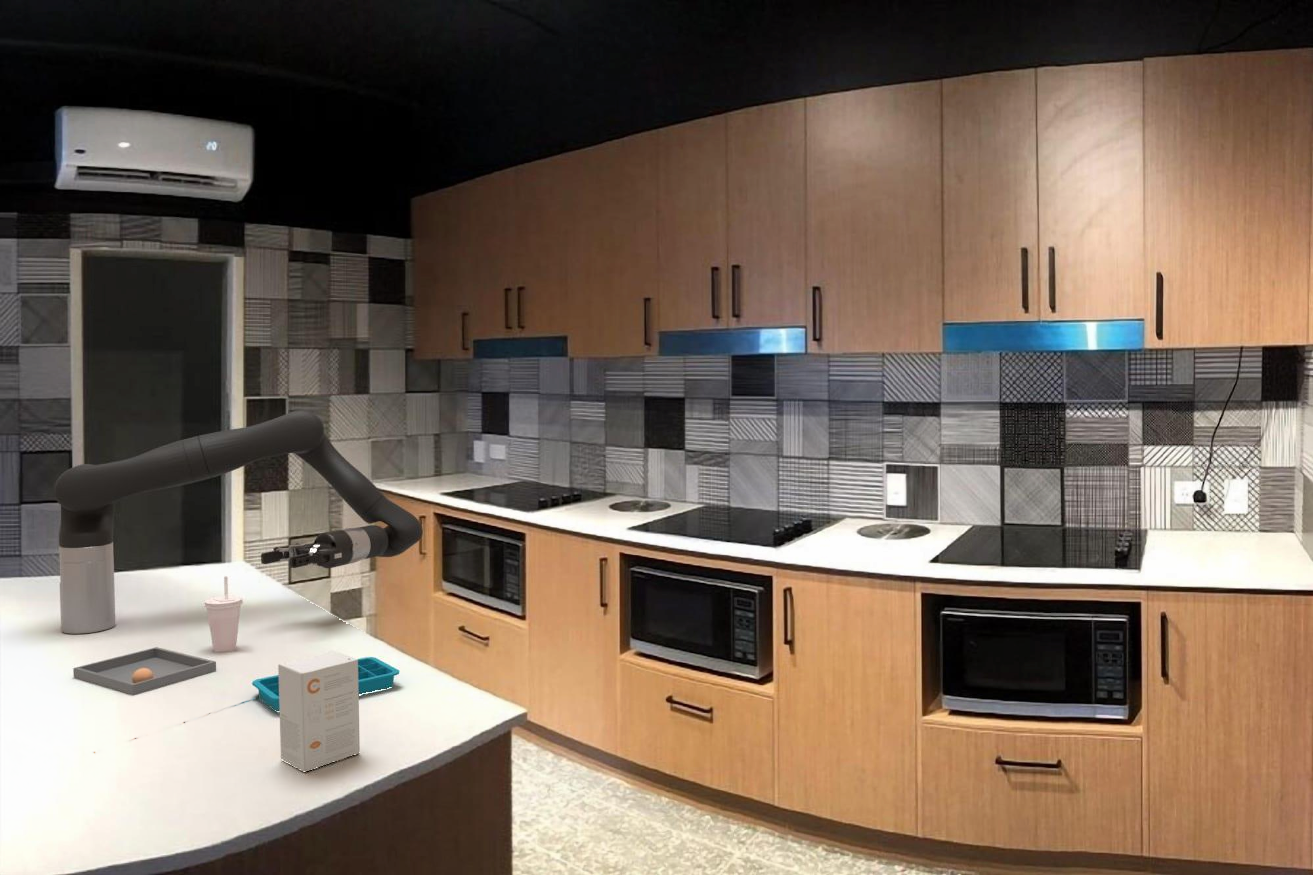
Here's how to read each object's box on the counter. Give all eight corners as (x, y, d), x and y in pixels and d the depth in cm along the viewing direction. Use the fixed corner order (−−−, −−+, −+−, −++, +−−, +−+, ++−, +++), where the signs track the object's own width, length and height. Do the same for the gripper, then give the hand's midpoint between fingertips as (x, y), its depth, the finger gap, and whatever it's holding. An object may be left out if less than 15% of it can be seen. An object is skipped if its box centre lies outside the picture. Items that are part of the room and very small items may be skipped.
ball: (128, 687, 145) (127, 669, 145) (146, 682, 148) (146, 664, 147) (139, 690, 143) (138, 672, 143) (157, 685, 146) (157, 667, 146)
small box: (335, 742, 124) (334, 649, 123) (360, 754, 120) (359, 658, 119) (278, 760, 118) (276, 663, 117) (303, 774, 114) (301, 673, 113)
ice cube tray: (250, 699, 142) (249, 680, 142) (372, 672, 155) (372, 655, 155) (275, 719, 133) (274, 699, 133) (402, 690, 147) (402, 672, 146)
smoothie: (228, 657, 163) (226, 580, 162) (197, 654, 164) (195, 579, 164) (251, 647, 169) (249, 573, 169) (221, 645, 171) (219, 572, 170)
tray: (73, 679, 150) (73, 667, 150) (156, 657, 162) (156, 647, 162) (133, 697, 142) (132, 685, 141) (216, 673, 154) (215, 661, 154)
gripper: (318, 527, 193) (252, 539, 179) (365, 532, 186) (299, 544, 172) (320, 561, 194) (253, 576, 180) (366, 567, 186) (301, 583, 172)
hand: (276, 560), depth 176 cm, fingers open, 8 cm apart
